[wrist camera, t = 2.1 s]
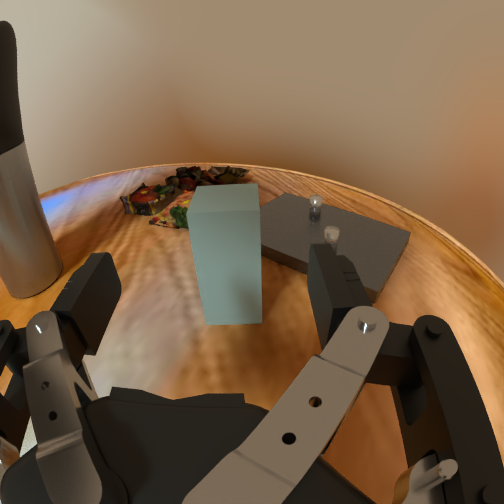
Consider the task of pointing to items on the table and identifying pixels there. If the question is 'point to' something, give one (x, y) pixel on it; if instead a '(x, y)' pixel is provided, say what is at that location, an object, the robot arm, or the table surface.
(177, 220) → the food
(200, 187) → the block
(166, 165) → the table surface
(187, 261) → the table surface
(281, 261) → the mounting plate
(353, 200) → the table surface
